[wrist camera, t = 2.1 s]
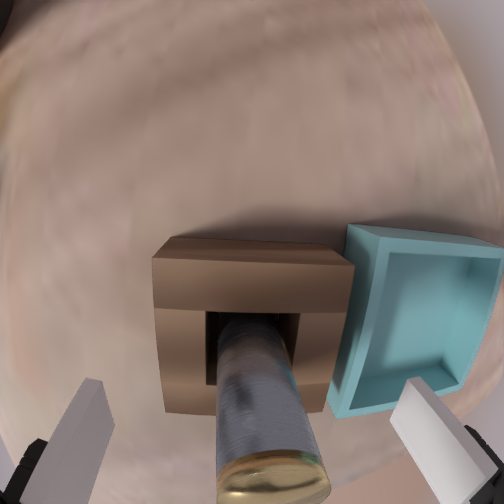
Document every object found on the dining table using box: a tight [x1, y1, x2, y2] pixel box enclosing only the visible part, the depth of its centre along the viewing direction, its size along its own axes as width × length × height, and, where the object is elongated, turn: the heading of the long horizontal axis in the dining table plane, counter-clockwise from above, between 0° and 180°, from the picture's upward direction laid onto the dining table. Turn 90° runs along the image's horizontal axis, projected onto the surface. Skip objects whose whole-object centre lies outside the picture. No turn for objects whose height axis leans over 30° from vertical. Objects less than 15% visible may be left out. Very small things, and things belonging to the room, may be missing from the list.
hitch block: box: [152, 237, 355, 416], centre depth 17 cm, size 10×10×5 cm
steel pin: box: [216, 312, 331, 504], centre depth 13 cm, size 4×4×14 cm
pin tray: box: [326, 224, 504, 419], centre depth 19 cm, size 13×13×4 cm
